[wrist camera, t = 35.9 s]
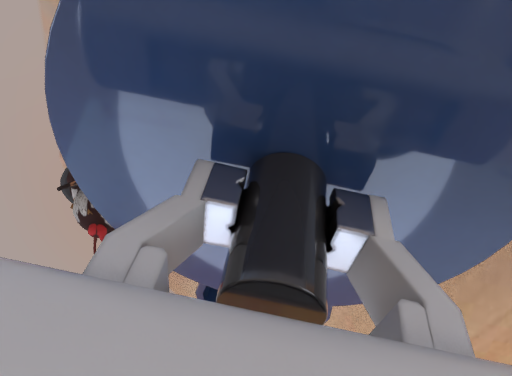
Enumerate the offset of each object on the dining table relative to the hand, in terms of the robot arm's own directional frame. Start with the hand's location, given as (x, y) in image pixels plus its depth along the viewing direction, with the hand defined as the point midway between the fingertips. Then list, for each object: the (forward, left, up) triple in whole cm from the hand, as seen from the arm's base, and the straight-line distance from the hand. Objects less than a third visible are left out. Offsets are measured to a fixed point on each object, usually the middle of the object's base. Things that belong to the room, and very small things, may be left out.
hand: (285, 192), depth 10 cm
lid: (0, 0, -1) cm, 1 cm away
